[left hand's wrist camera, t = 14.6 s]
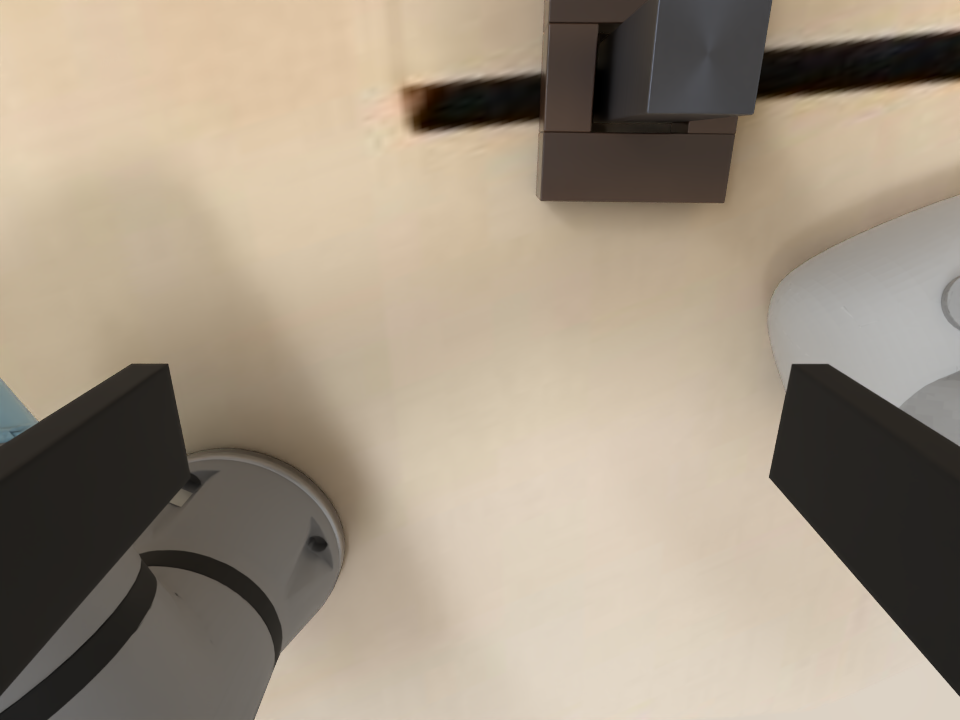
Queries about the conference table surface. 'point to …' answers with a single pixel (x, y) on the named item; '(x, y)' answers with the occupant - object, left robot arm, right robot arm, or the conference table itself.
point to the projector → (882, 314)
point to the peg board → (615, 156)
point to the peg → (682, 62)
